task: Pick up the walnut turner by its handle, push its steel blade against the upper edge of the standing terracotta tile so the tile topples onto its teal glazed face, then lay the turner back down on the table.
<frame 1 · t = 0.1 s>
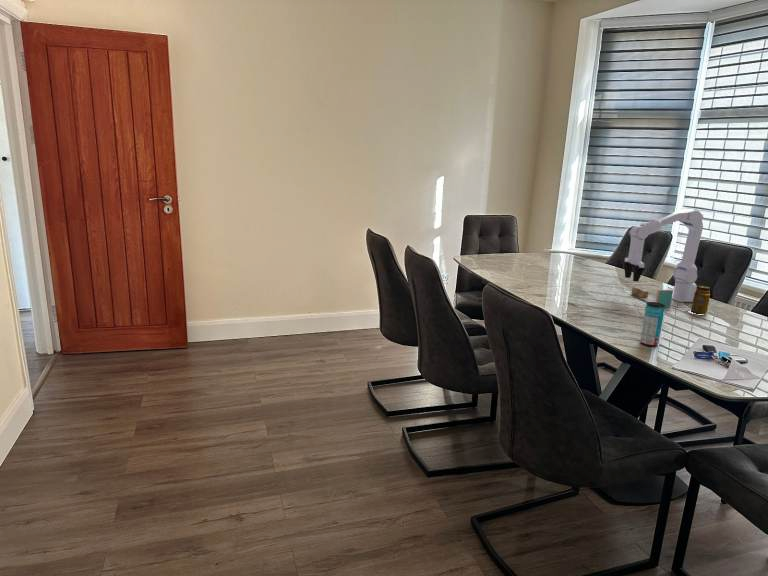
hand: (631, 279, 252), 10 cm above the table, tool pointing down, fingers open, 7 cm apart
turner: (644, 298, 257), on the table
beverage can: (648, 344, 190), on the table
condiment: (697, 313, 235), on the table
tile: (662, 306, 243), on the table
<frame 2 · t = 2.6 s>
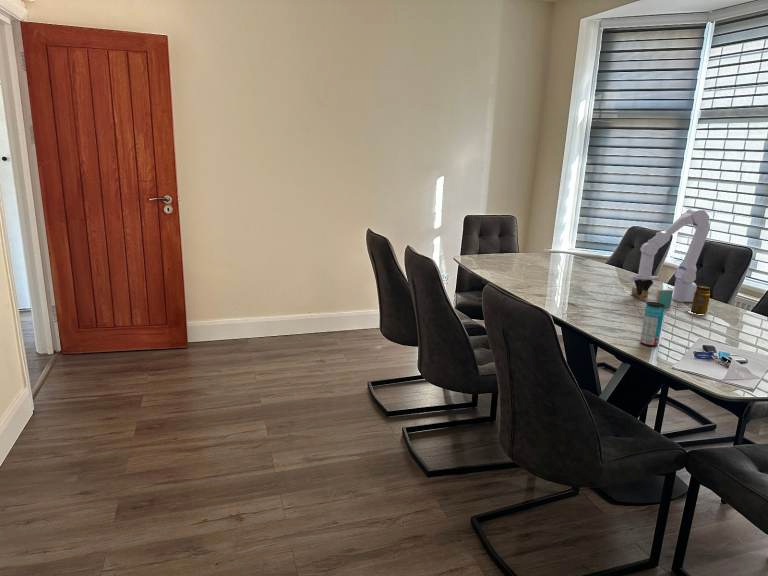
hand: (641, 294, 259), 1 cm above the table, tool pointing down, fingers closed on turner, 2 cm apart
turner: (644, 298, 257), on the table, touching gripper
everything else where it was.
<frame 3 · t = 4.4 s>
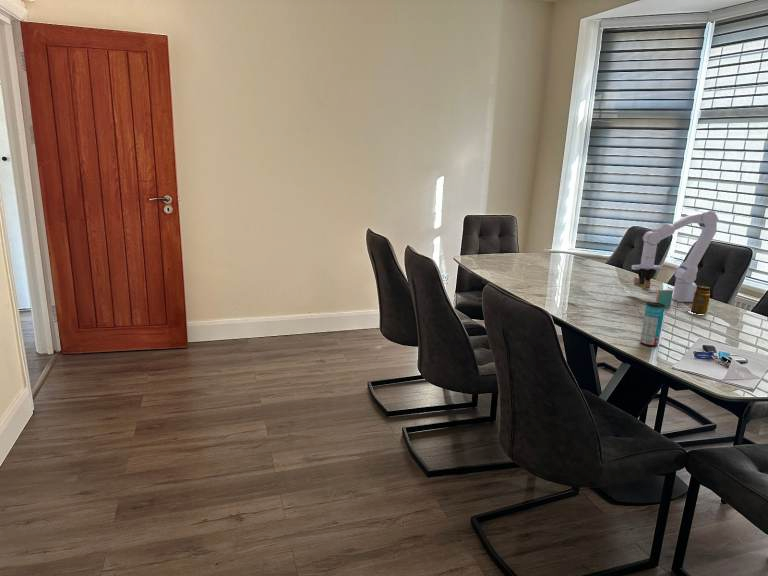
hand: (643, 284, 257), 7 cm above the table, tool pointing down, fingers closed on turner
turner: (646, 289, 255), point 5 cm above the table, touching gripper
everything else where it was.
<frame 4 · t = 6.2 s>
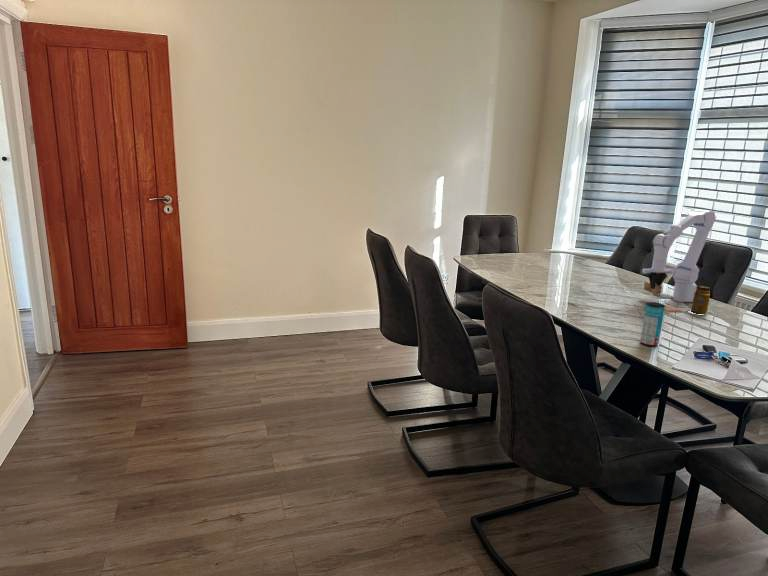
hand: (654, 288, 249), 7 cm above the table, tool pointing down, fingers closed on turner
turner: (657, 294, 247), point 5 cm above the table, touching gripper
tile: (663, 306, 243), on the table, tilted 90°
everything else where it was.
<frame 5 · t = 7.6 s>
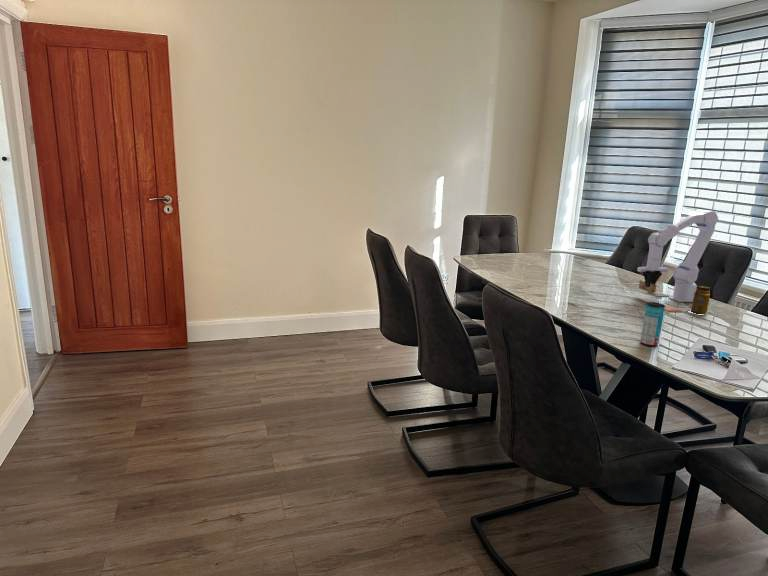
hand: (649, 286, 253), 7 cm above the table, tool pointing down, fingers closed on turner
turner: (651, 292, 251), point 4 cm above the table, touching gripper
everything else where it was.
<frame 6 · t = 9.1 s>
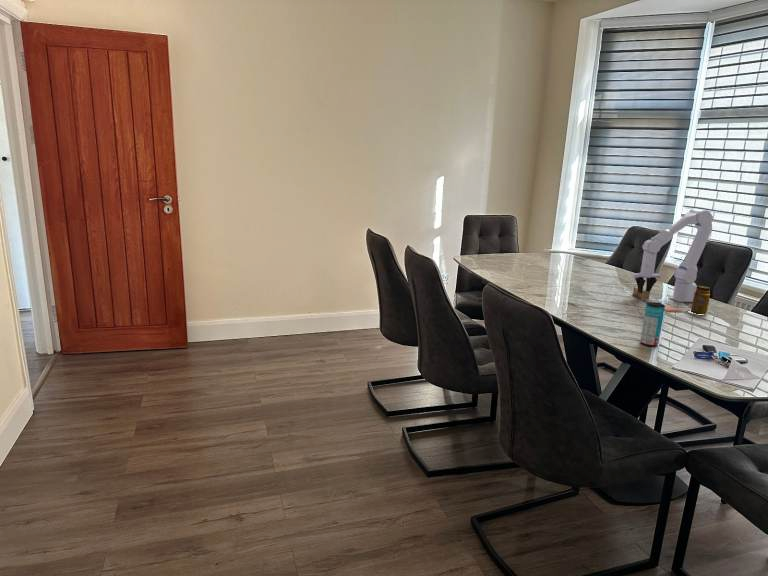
hand: (643, 292, 257), 3 cm above the table, tool pointing down, fingers open, 3 cm apart
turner: (645, 299, 256), on the table
everything else where it was.
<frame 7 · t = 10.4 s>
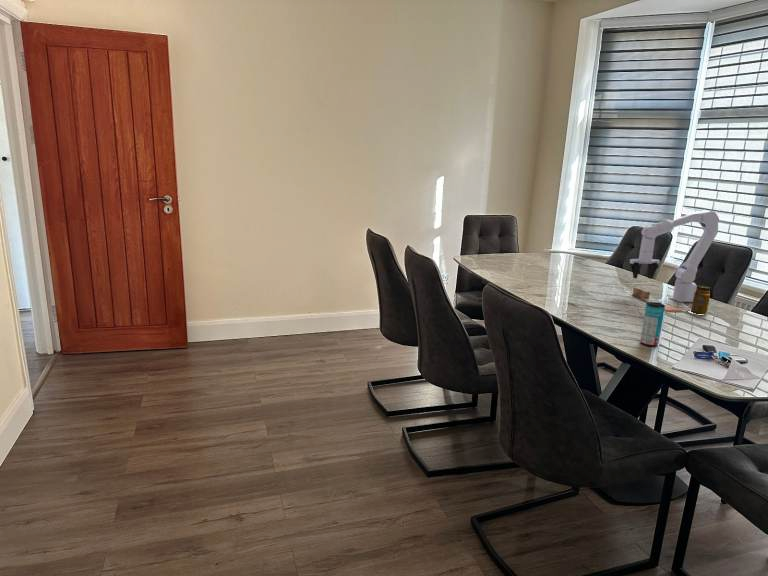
hand: (642, 278, 258), 9 cm above the table, tool pointing down, fingers open, 7 cm apart
nothing on the table moved.
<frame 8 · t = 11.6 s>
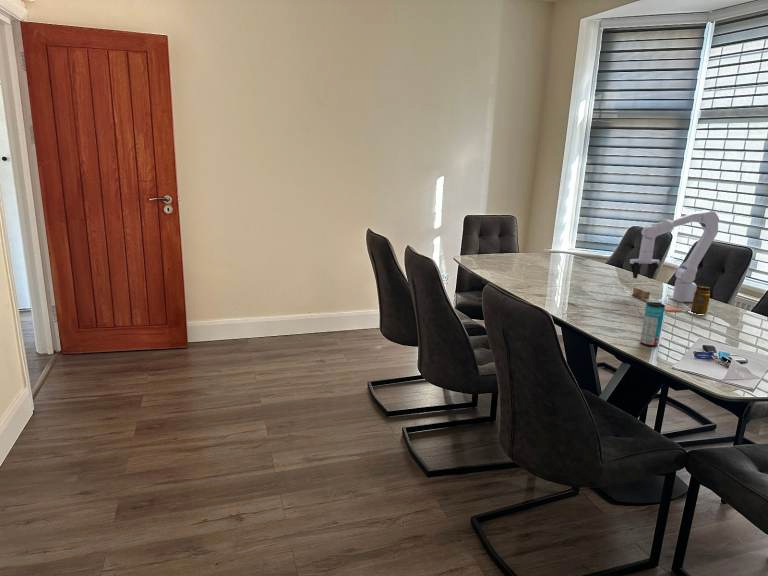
hand: (642, 278, 258), 9 cm above the table, tool pointing down, fingers open, 7 cm apart
nothing on the table moved.
at the end: tile tilted 90°; tile inside the target area (1.2 cm from its centre), on the table; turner on the table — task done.
